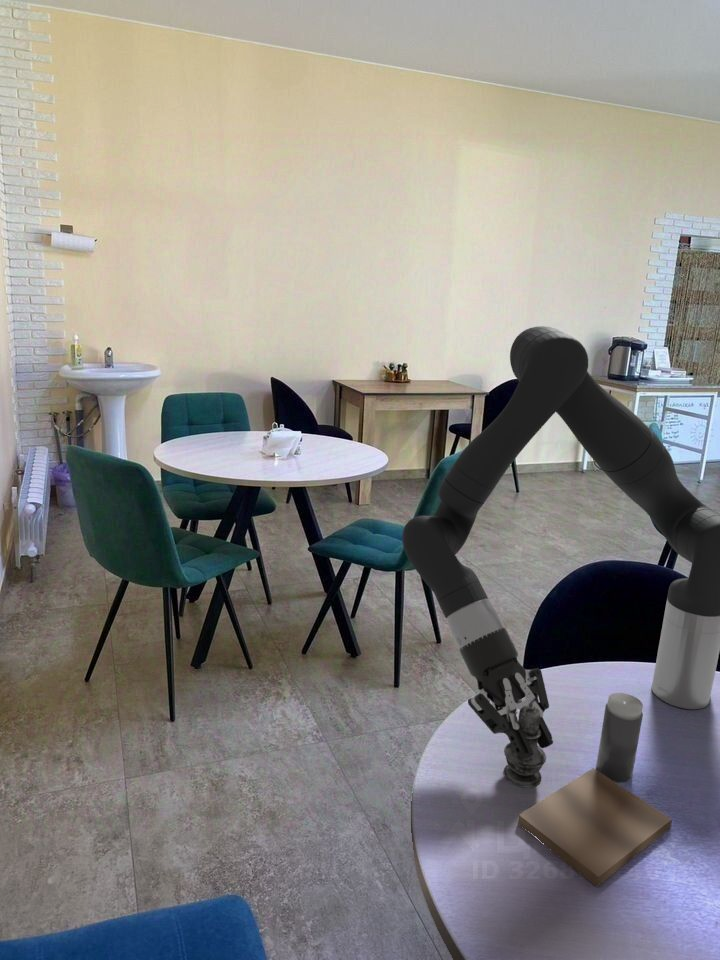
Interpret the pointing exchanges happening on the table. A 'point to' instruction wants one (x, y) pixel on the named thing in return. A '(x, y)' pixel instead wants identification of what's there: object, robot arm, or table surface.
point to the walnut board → (595, 825)
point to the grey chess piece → (528, 769)
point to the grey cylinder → (619, 737)
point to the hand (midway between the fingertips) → (537, 751)
